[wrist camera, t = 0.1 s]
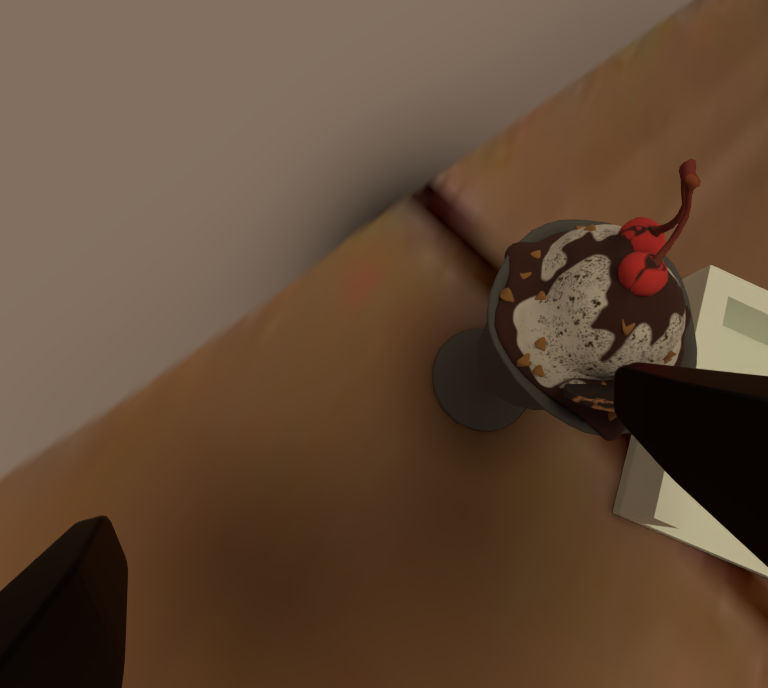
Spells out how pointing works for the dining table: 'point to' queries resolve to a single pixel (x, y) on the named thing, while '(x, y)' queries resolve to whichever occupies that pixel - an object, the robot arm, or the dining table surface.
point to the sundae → (572, 323)
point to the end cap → (714, 352)
